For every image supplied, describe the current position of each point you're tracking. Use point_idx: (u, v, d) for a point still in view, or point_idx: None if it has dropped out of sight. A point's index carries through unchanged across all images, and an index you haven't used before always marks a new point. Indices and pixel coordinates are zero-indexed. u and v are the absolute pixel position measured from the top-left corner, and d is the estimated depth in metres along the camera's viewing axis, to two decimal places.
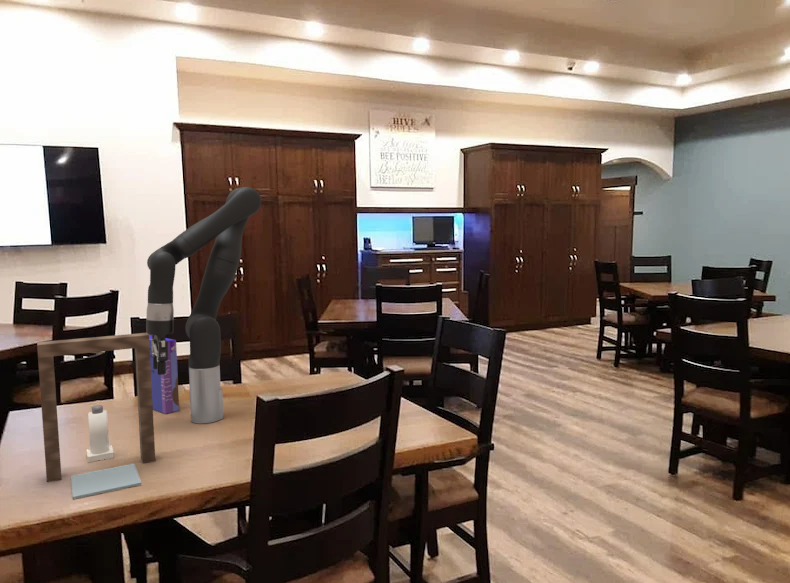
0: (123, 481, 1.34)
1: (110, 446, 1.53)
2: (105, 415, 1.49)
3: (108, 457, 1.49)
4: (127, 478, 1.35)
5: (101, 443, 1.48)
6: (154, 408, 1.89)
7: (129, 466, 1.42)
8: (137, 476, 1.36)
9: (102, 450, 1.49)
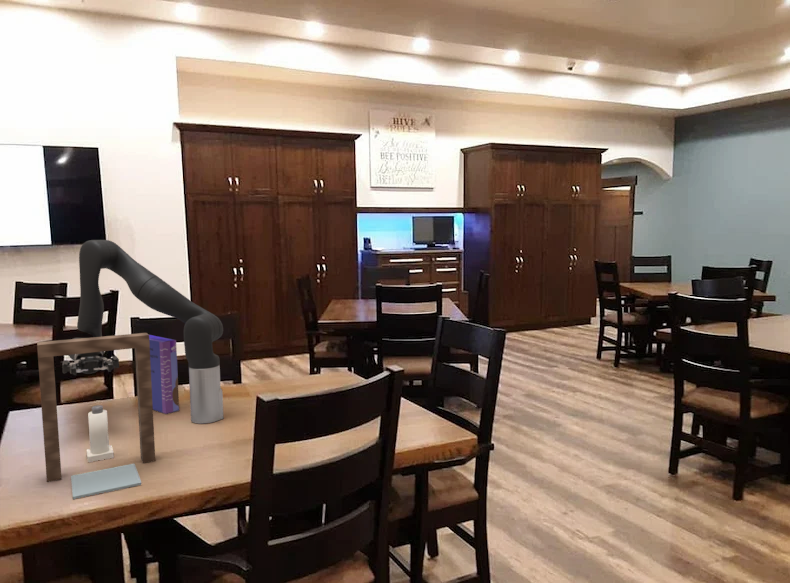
0: (123, 481, 1.34)
1: (110, 446, 1.53)
2: (105, 415, 1.49)
3: (108, 457, 1.49)
4: (127, 478, 1.35)
5: (101, 443, 1.48)
6: (154, 408, 1.89)
7: (129, 466, 1.42)
8: (137, 476, 1.36)
9: (102, 450, 1.49)
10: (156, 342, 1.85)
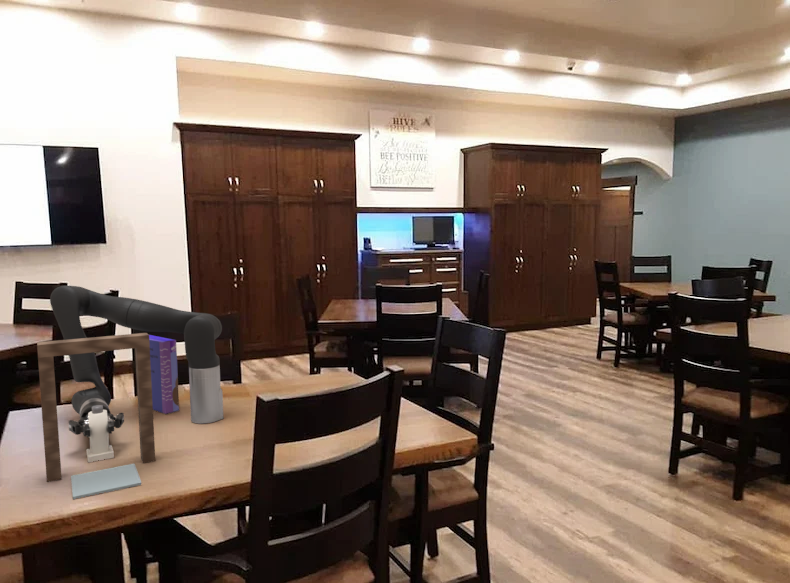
0: (123, 481, 1.34)
1: (110, 446, 1.53)
2: (105, 415, 1.49)
3: (108, 457, 1.49)
4: (127, 478, 1.35)
5: (101, 443, 1.48)
6: (154, 408, 1.89)
7: (129, 466, 1.42)
8: (137, 476, 1.36)
9: (102, 450, 1.49)
10: (156, 342, 1.85)
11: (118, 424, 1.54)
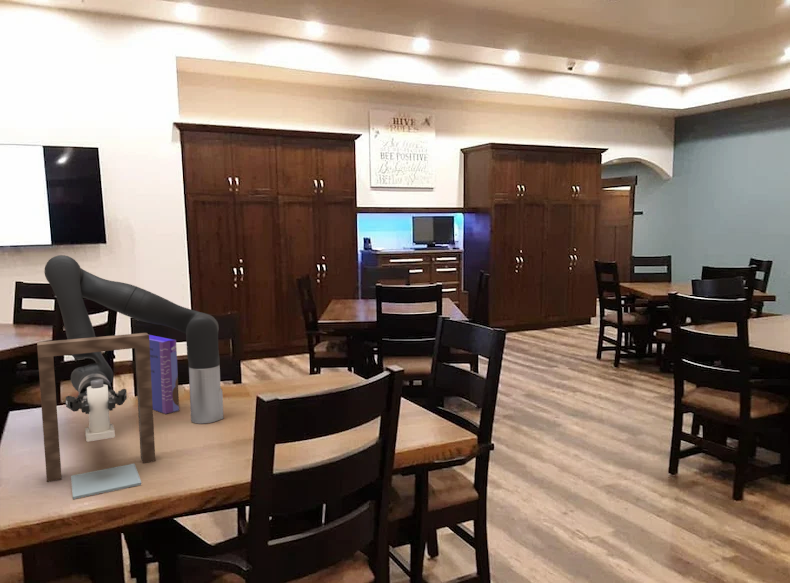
0: (123, 481, 1.34)
1: (111, 425, 1.40)
2: (106, 390, 1.35)
3: (109, 436, 1.35)
4: (127, 478, 1.35)
5: (101, 421, 1.34)
6: (154, 408, 1.89)
7: (129, 466, 1.42)
8: (137, 476, 1.36)
9: (102, 428, 1.35)
10: (156, 342, 1.85)
11: (120, 401, 1.40)
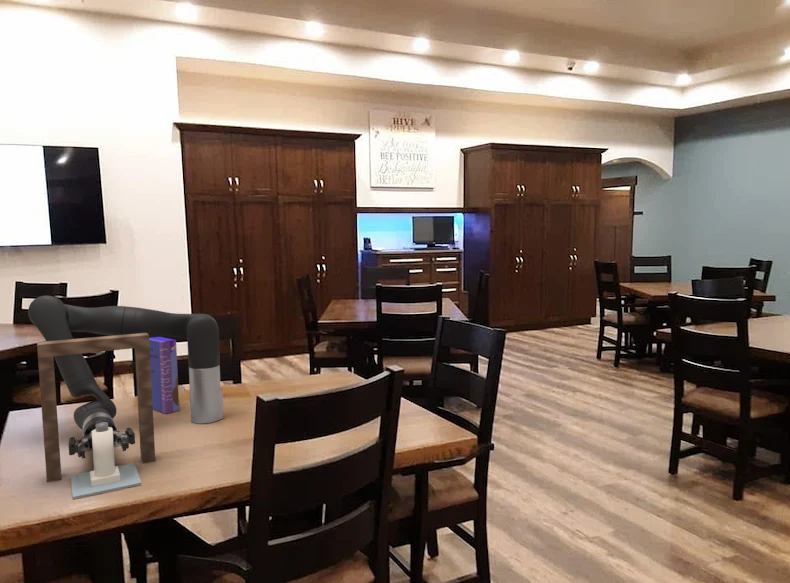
0: (123, 481, 1.34)
1: (116, 467, 1.38)
2: (111, 433, 1.34)
3: (114, 480, 1.33)
4: (127, 478, 1.35)
5: (106, 464, 1.33)
6: (154, 408, 1.89)
7: (129, 466, 1.42)
8: (137, 476, 1.36)
9: (107, 472, 1.33)
10: (156, 342, 1.85)
11: (134, 440, 1.40)
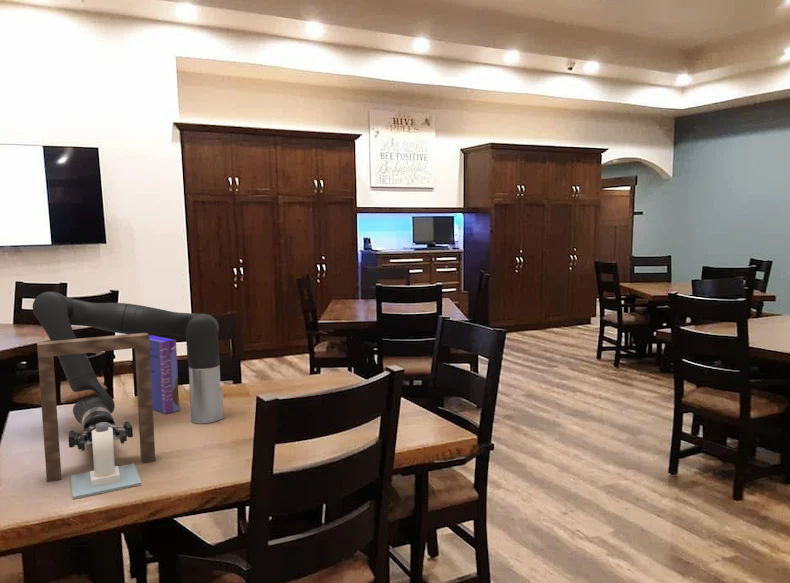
0: (123, 481, 1.34)
1: (116, 467, 1.38)
2: (111, 433, 1.34)
3: (114, 480, 1.33)
4: (127, 478, 1.35)
5: (106, 464, 1.33)
6: (154, 408, 1.89)
7: (129, 466, 1.42)
8: (137, 476, 1.36)
9: (107, 472, 1.33)
10: (156, 342, 1.85)
11: (131, 433, 1.45)
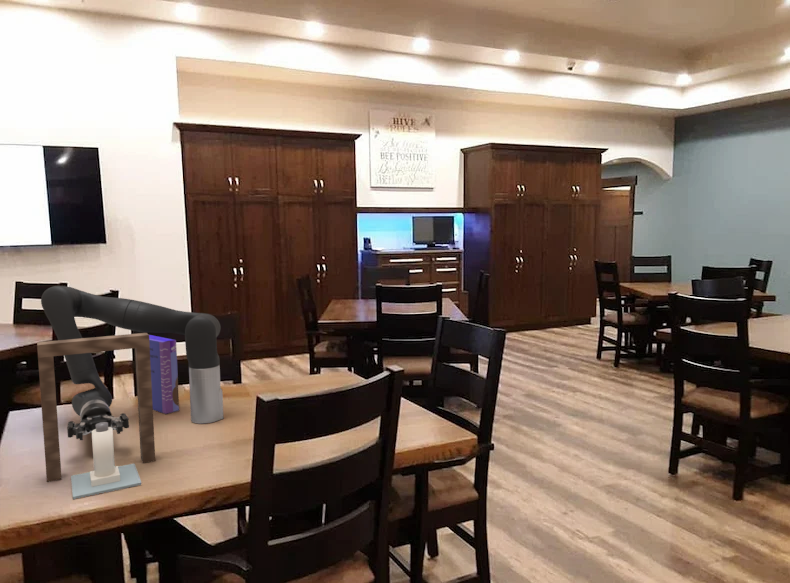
0: (123, 481, 1.34)
1: (116, 467, 1.38)
2: (111, 433, 1.34)
3: (114, 480, 1.33)
4: (127, 478, 1.35)
5: (106, 464, 1.33)
6: (154, 408, 1.89)
7: (129, 466, 1.42)
8: (137, 476, 1.36)
9: (107, 472, 1.33)
10: (156, 342, 1.85)
11: (127, 424, 1.52)
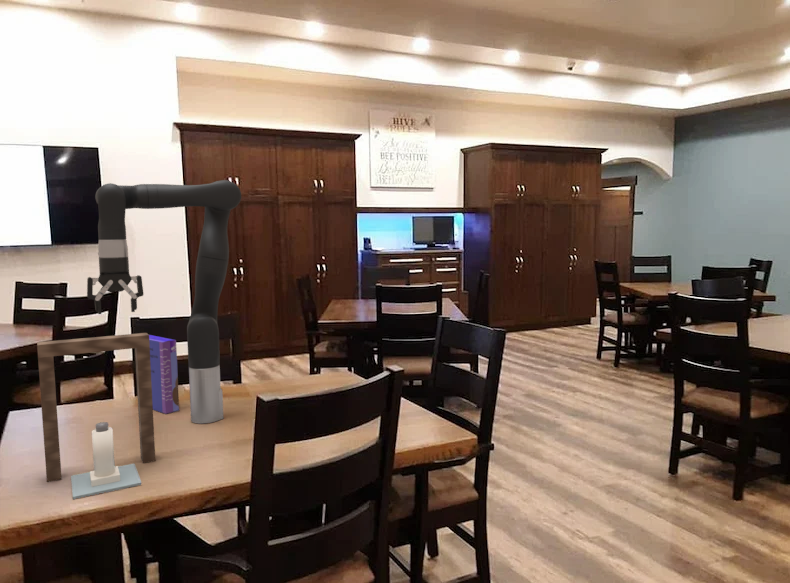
0: (123, 481, 1.34)
1: (116, 467, 1.38)
2: (111, 433, 1.34)
3: (114, 480, 1.33)
4: (127, 478, 1.35)
5: (106, 464, 1.33)
6: (154, 408, 1.89)
7: (129, 466, 1.42)
8: (137, 476, 1.36)
9: (107, 472, 1.33)
10: (156, 342, 1.85)
11: None
